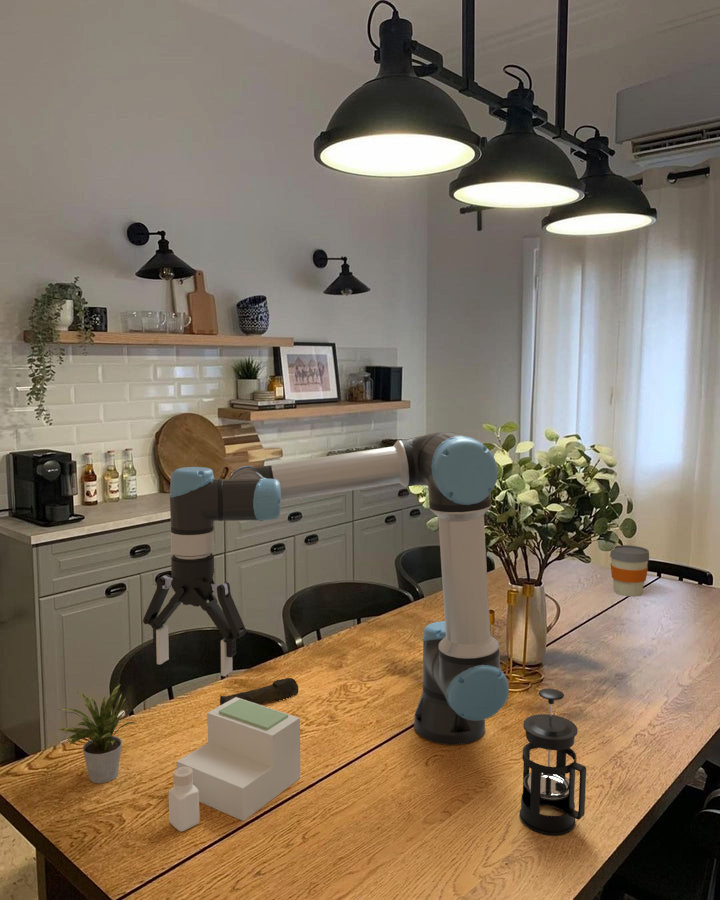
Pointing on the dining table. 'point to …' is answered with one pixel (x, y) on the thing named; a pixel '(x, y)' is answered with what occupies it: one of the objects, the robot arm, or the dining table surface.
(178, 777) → the white square bottle
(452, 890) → the dining table surface
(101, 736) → the house plant
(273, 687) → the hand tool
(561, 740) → the french press
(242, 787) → the stepped riser
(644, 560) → the reusable coffee cup
